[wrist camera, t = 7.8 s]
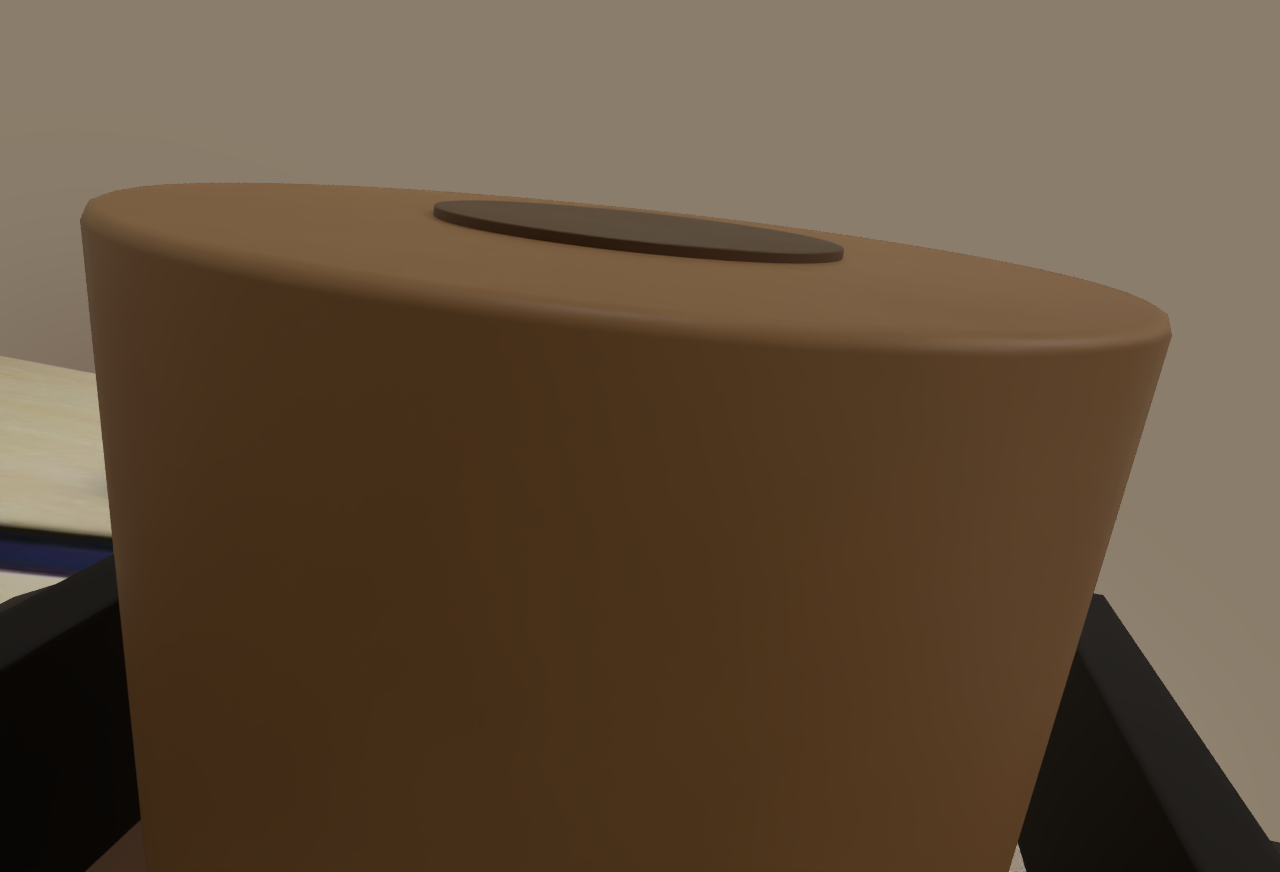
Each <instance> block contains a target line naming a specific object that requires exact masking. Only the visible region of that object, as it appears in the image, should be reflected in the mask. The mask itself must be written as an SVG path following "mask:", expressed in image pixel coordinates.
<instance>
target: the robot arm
mask: <svg viewBox="0 0 1280 872" xmlns="http://www.w3.org/2000/svg"><path fill="white" fill-rule="evenodd" d="M140 820H141V814H140V804H139V795H138V785H137V775H136V765H135V755H134V745H133V735H132V726H131V716H130V706H129V696H128V686H127V676H126V667H125V657H124V647H123V637H122V627H121V617H120V608H119V598H118V588H117V578H116V568H115V558H114V554H113V555H111V556H109V557H107V558H105V559H103V560H101V561H99V562H97V563H96V564H94V565H92V566H90V567H88V568H86V569H84V570H82V571H80V572H78V573H76V574H74V575H73V576H71V577H69V578H67V579H65V580H63V581H61V582H59V583H57V584H55V585H52V586H48V587H45V588H42V589H39V590H35V591H32V592H29V593H26V594H23V595H19V596H16V597H13V598H11V599H9V600H7V601H5V602H3V603H1V604H0V872H85V871H86V870H87V869H89V868H90V867H91V866H92V865H93V864H94V863H95V862H96V861H97V860H98V859H99V858H100V857H101V856H103V855H104V854H105V853H106V852H107V851H108V850H109V849H110V848H111V847H112V846H113V845H114V844H115V843H116V842H118V841H119V840H120V839H121V838H122V837H123V836H124V835H125V834H126V833H127V832H128V831H129V830H130V829H131V828H133V827H134V826H135V825H136V824H137V823H138V822H139V821H140ZM1018 845H1019V848H1020V852H1021V855H1022V858H1023V862H1024V865H1025V869H1026V872H1280V843H1279V842H1274V841H1270V840H1269V839H1268V837H1267V836H1266V834H1265V833H1264V831H1263V830H1262V828H1261V827H1260V826H1259V824H1258V822H1257V821H1256V819H1255V818H1254V816H1253V815H1252V813H1251V812H1250V810H1249V809H1248V808H1247V806H1246V805H1245V803H1244V802H1243V800H1242V799H1241V797H1240V796H1239V794H1238V793H1237V791H1236V790H1235V788H1234V787H1233V786H1232V784H1231V783H1230V781H1229V780H1228V778H1227V777H1226V775H1225V774H1224V772H1223V771H1222V769H1221V768H1220V766H1219V765H1218V763H1217V762H1216V761H1215V759H1214V757H1213V756H1212V755H1211V753H1210V752H1209V750H1208V749H1207V747H1206V746H1205V744H1204V743H1203V741H1202V740H1201V738H1200V737H1199V735H1198V734H1197V732H1196V731H1195V730H1194V728H1193V727H1192V725H1191V724H1190V722H1189V721H1188V719H1187V718H1186V716H1185V715H1184V713H1183V712H1182V710H1181V709H1180V707H1179V706H1178V705H1177V703H1176V702H1175V700H1174V699H1173V697H1172V696H1171V694H1170V693H1169V691H1168V690H1167V688H1166V687H1165V685H1164V684H1163V682H1162V681H1161V680H1160V678H1159V677H1158V675H1157V674H1156V672H1155V671H1154V669H1153V668H1152V666H1151V665H1150V663H1149V662H1148V660H1147V659H1146V658H1145V656H1144V654H1143V653H1142V652H1141V650H1140V649H1139V647H1138V646H1137V644H1136V643H1135V641H1134V640H1133V638H1132V637H1131V635H1130V634H1129V632H1128V631H1127V630H1126V628H1125V626H1124V625H1123V624H1122V622H1121V621H1120V619H1119V618H1118V616H1117V615H1116V613H1115V612H1114V610H1113V609H1112V607H1111V606H1110V604H1109V603H1108V601H1107V600H1106V598H1105V597H1104V596H1103V595H1099V594H1094V593H1093V596H1092V599H1091V603H1090V606H1089V609H1088V613H1087V616H1086V619H1085V622H1084V626H1083V629H1082V632H1081V636H1080V639H1079V642H1078V645H1077V649H1076V652H1075V655H1074V659H1073V662H1072V665H1071V668H1070V672H1069V675H1068V678H1067V682H1066V685H1065V688H1064V691H1063V695H1062V698H1061V701H1060V705H1059V708H1058V711H1057V714H1056V718H1055V721H1054V724H1053V728H1052V731H1051V734H1050V737H1049V741H1048V744H1047V747H1046V750H1045V754H1044V757H1043V760H1042V764H1041V767H1040V770H1039V773H1038V777H1037V780H1036V783H1035V787H1034V790H1033V793H1032V796H1031V800H1030V803H1029V806H1028V810H1027V813H1026V816H1025V819H1024V823H1023V826H1022V829H1021V833H1020V836H1019V839H1018Z"/></svg>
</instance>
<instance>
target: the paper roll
mask: <svg viewBox="0 0 1280 872" xmlns="http://www.w3.org/2000/svg"><path fill="white" fill-rule="evenodd" d="M80 224H81V233H82V243H83V253H84V263H85V272H86V283H87V292H88V302H89V312H90V322H91V331H92V341H93V351H94V361H95V371H96V381H97V391H98V401H99V411H100V420H101V430H102V440H103V450H104V460H105V470H106V480H107V489H108V499H109V509H110V519H111V529H112V539H113V548H114V558H115V568H116V578H117V588H118V598H119V608H120V617H121V627H122V637H123V647H124V657H125V667H126V676H127V686H128V696H129V706H130V716H131V726H132V735H133V745H134V755H135V765H136V775H137V785H138V795H139V804H140V814H141V824H142V834H143V844H144V854H145V863H146V872H1009V869H1010V865H1011V862H1012V859H1013V856H1014V852H1015V849H1016V846H1017V842H1018V839H1019V836H1020V833H1021V829H1022V826H1023V823H1024V819H1025V816H1026V813H1027V810H1028V806H1029V803H1030V800H1031V796H1032V793H1033V790H1034V787H1035V783H1036V780H1037V777H1038V773H1039V770H1040V767H1041V764H1042V760H1043V757H1044V754H1045V750H1046V747H1047V744H1048V741H1049V737H1050V734H1051V731H1052V728H1053V724H1054V721H1055V718H1056V714H1057V711H1058V708H1059V705H1060V701H1061V698H1062V695H1063V691H1064V688H1065V685H1066V682H1067V678H1068V675H1069V672H1070V668H1071V665H1072V662H1073V659H1074V655H1075V652H1076V649H1077V645H1078V642H1079V639H1080V636H1081V632H1082V629H1083V626H1084V622H1085V619H1086V616H1087V613H1088V609H1089V606H1090V603H1091V599H1092V596H1093V593H1094V590H1095V586H1096V583H1097V580H1098V576H1099V573H1100V569H1101V567H1102V563H1103V560H1104V557H1105V553H1106V550H1107V547H1108V544H1109V540H1110V537H1111V534H1112V531H1113V527H1114V524H1115V520H1116V517H1117V514H1118V511H1119V507H1120V504H1121V501H1122V498H1123V494H1124V491H1125V488H1126V484H1127V481H1128V478H1129V474H1130V471H1131V468H1132V465H1133V462H1134V458H1135V455H1136V451H1137V448H1138V445H1139V442H1140V438H1141V435H1142V432H1143V429H1144V425H1145V422H1146V419H1147V415H1148V412H1149V409H1150V405H1151V402H1152V399H1153V396H1154V392H1155V389H1156V386H1157V383H1158V379H1159V376H1160V373H1161V370H1162V366H1163V363H1164V360H1165V356H1166V353H1167V349H1168V347H1169V343H1170V340H1171V337H1172V334H1171V328H1170V322H1169V317H1168V314H1166V313H1165V312H1163V311H1162V310H1160V309H1159V308H1158V307H1156V306H1155V305H1153V304H1151V303H1149V302H1147V301H1146V300H1143V299H1141V298H1139V297H1136V296H1134V295H1132V294H1129V293H1127V292H1124V291H1121V290H1117V289H1114V288H1111V287H1108V286H1105V285H1102V284H1098V283H1094V282H1090V281H1086V280H1083V279H1079V278H1075V277H1071V276H1067V275H1063V274H1058V273H1054V272H1050V271H1045V270H1041V269H1036V268H1032V267H1027V266H1022V265H1017V264H1012V263H1008V262H1002V261H997V260H992V259H986V258H982V257H976V256H971V255H965V254H960V253H954V252H948V251H943V250H937V249H931V248H925V247H919V246H912V245H907V244H900V243H895V242H888V241H882V240H875V239H869V238H862V237H855V236H848V235H841V234H835V233H828V232H821V231H814V230H806V229H798V228H792V227H784V226H777V225H769V224H761V223H753V222H746V221H738V220H729V219H720V218H713V217H705V216H696V215H688V214H678V213H670V212H661V211H652V210H643V209H634V208H624V207H614V206H604V205H594V204H584V203H574V202H563V201H553V200H541V199H530V198H519V197H507V196H494V195H482V194H469V193H454V192H440V191H426V190H411V189H395V188H377V187H359V186H337V185H313V184H280V183H194V184H193V183H191V184H166V185H155V186H143V187H135V188H129V189H123V190H117V191H114V192H110V193H107V194H104V195H101V196H99V197H96V198H94V199H91V200H89V202H88V204H87V205H86V207H85V209H84V212H83V214H82V217H81V219H80Z"/></svg>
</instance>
